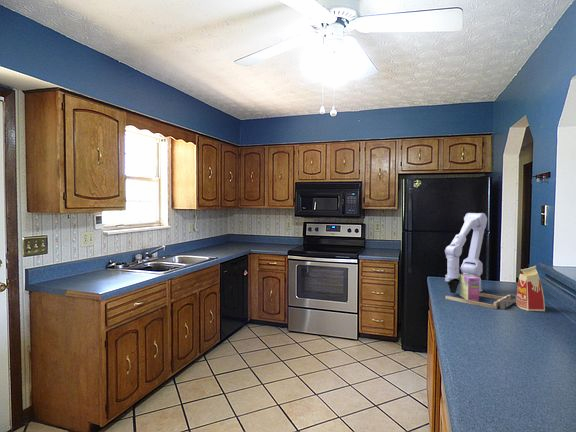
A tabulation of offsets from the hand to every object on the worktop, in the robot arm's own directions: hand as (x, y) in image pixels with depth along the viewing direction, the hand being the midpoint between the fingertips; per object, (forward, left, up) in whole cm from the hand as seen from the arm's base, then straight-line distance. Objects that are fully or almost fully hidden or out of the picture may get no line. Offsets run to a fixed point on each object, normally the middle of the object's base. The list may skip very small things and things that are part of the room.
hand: (453, 292), depth 188 cm
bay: (0, +14, -1) cm, 14 cm away
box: (0, +8, -2) cm, 8 cm away
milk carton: (-3, +34, -2) cm, 34 cm away
